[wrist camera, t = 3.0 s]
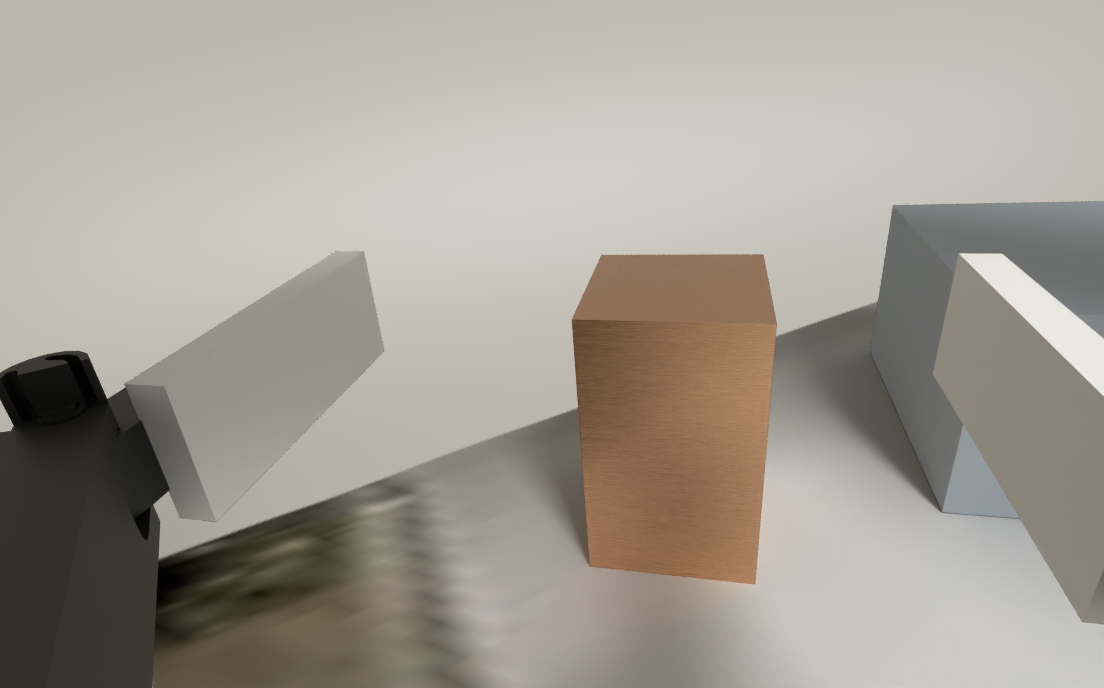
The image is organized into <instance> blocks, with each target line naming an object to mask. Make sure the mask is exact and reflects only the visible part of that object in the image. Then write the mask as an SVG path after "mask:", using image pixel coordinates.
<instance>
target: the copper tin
mask: <svg viewBox="0 0 1104 688" xmlns="http://www.w3.org/2000/svg"><path fill="white" fill-rule="evenodd" d="M776 327H777V322H776V317H775V312H774V307H773V302H772V297H771V292H770V286H769V281H768V276H767V271H766V266H765V260H764V255H601V257H600V259H599V262H598V264H597V266H596V268H595V270H594V273H593V275H592V277H591V279H590V281H589V283H588V286H587V288H586V290H585V292H584V294H583V296H582V299H581V301H580V303H579V305H578V307H577V309H576V312H575V314H574V316H573V318H572V328H573V343H574V356H575V369H576V384H577V397H578V412H579V425H580V439H581V453H582V467H583V481H584V494H585V508H586V522H587V536H588V550H589V563H590V566H592V567H601V568H610V569H619V570H628V571H637V572H647V573H656V574H665V575H674V576H683V577H692V578H702V579H711V580H720V581H729V582H738V583H747V584H755V581H756V569H757V556H758V544H759V532H760V520H761V508H762V496H763V484H764V472H765V460H766V448H767V435H768V423H769V411H770V399H771V387H772V375H773V363H774V351H775V339H776Z"/></svg>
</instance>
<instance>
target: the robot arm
mask: <svg viewBox="0 0 1104 688" xmlns="http://www.w3.org/2000/svg"><path fill="white" fill-rule="evenodd" d="M383 352H384V347H383V342H382V337H381V332H380V327H379V322H378V318H377V313H376V308H375V303H374V298H373V294H372V289H371V284H370V279H369V274H368V269H367V265H366V260H365V255H364V251H336V252H334V253H332V254H331V255H329V256H328V257H326V258H325V259H323V260H322V261H320V262H318V263H317V264H315V265H313V266H312V267H310V268H309V269H307V270H306V271H304V272H302V273H301V274H299V275H297V276H296V277H294V278H293V279H291V280H289V281H288V282H286V283H285V284H283V285H282V286H280V287H278V288H277V289H275V290H273V291H272V292H270V293H269V294H267V295H266V296H264V297H262V298H261V299H259V300H257V301H256V302H254V303H253V304H251V305H249V306H248V307H246V308H245V309H243V310H241V311H240V312H238V313H237V314H235V315H233V316H232V317H230V318H229V319H227V320H226V321H224V322H222V323H221V324H219V325H217V326H216V327H214V328H213V329H211V330H210V331H208V332H206V333H205V334H203V335H202V336H200V337H198V338H197V339H195V340H194V341H192V342H190V343H189V344H187V345H186V346H184V347H182V348H181V349H179V350H178V351H176V352H175V353H173V354H171V355H170V356H168V357H167V358H165V359H163V360H162V361H160V362H158V363H157V364H155V365H154V366H152V367H151V368H149V369H147V370H146V371H144V372H143V373H141V374H139V375H138V376H136V377H134V378H133V379H131V380H130V381H128V382H126V383H125V384H124V385H125V387H126V388H124V389H123V390H121V391H120V392H118V393H116V394H115V395H113V396H112V397H110V398H108V399H107V398H106V395H105V393H104V391H103V388H102V386H101V384H100V381H99V379H98V377H97V375H96V372H95V370H94V368H93V365H92V363H91V361H90V358H89V356H88V354H87V353H84V352H80V351H64V352H58V353H52V354H47V355H43V356H39V357H36V358H32V359H29V360H27V361H24V362H21V363H19V364H17V365H14V366H11V367H10V368H8V369H6V370H4V371H3V372H1V373H0V400H1V402H2V404H3V406H4V408H5V410H6V412H7V413H8V415H9V417H10V419H11V421H12V423H13V425H14V426H13V428H12V431H7V432H0V688H152V676H153V656H154V636H155V616H156V596H157V576H158V556H159V536H160V535H159V534H160V520H159V518H158V515H157V513H156V510H155V508H154V506H153V504H154V503H155V502H156V501H157V500H159V499H160V498H161V497H162V496H163V495H164V494H166V493H167V492H168V491H169V493H170V495H171V498H172V500H173V502H174V505H175V507H176V509H177V512H178V514H179V517H180V518H185V519H193V520H202V521H211V522H217V521H218V520H219V519H220V518H221V517H222V516H223V515H224V514H225V513H226V512H227V511H228V510H229V509H230V508H231V507H232V506H233V505H234V504H235V503H236V502H237V501H238V500H239V499H240V498H241V497H242V496H243V495H244V494H245V493H246V492H247V491H248V490H249V489H250V488H251V487H252V485H254V484H255V482H257V480H258V479H259V478H260V477H261V476H262V475H263V474H264V473H265V472H266V471H267V470H268V469H269V468H270V467H271V466H272V465H273V464H274V463H275V462H276V461H277V460H278V459H279V458H280V457H281V456H282V455H283V454H284V453H285V452H286V451H287V450H288V449H289V448H290V447H291V446H292V445H293V444H294V443H295V442H296V441H297V440H298V439H299V438H300V437H301V436H302V435H303V433H305V432H306V431H307V430H308V429H309V427H310V426H311V425H312V424H313V423H314V422H315V421H316V420H317V419H318V418H319V417H320V416H321V415H322V414H323V413H324V412H325V411H326V410H327V409H328V408H329V407H330V406H331V405H332V404H333V403H334V402H335V401H336V400H337V399H338V398H339V397H340V396H341V395H342V394H343V393H344V392H345V391H346V390H347V389H348V388H349V387H350V386H351V385H352V384H353V383H354V382H355V381H356V380H357V379H358V377H360V376H361V374H362V373H363V372H364V371H365V370H366V369H367V368H368V367H369V366H370V365H371V364H372V363H373V362H374V361H375V360H376V359H377V358H378V357H379V356H380V355H381V354H382V353H383ZM933 375H934V377H935V379H936V380H937V382H938V384H939V385H940V387H941V389H942V390H943V392H944V394H945V395H946V397H947V399H948V400H949V402H950V404H951V405H952V407H953V409H954V410H955V412H956V414H957V415H958V417H959V418H960V420H961V422H962V423H963V425H964V427H965V428H966V430H967V432H968V433H969V435H970V437H971V438H972V440H973V442H974V443H975V445H976V447H977V448H978V450H979V452H980V453H981V455H982V457H983V458H984V460H985V462H986V463H987V465H988V467H989V468H990V470H991V472H992V473H993V475H994V477H995V478H996V480H997V482H998V483H999V485H1000V486H1001V488H1002V490H1003V491H1004V493H1005V495H1006V496H1007V498H1008V500H1009V501H1010V503H1011V505H1012V506H1013V508H1014V510H1015V511H1016V513H1017V515H1018V516H1019V518H1020V520H1021V521H1022V523H1023V525H1024V526H1025V528H1026V530H1027V531H1028V533H1029V535H1030V536H1031V538H1032V540H1033V541H1034V543H1035V545H1036V546H1037V548H1038V550H1039V551H1040V553H1041V554H1042V556H1043V558H1044V559H1045V561H1046V563H1047V564H1048V566H1049V568H1050V569H1051V571H1052V573H1053V574H1054V576H1055V578H1056V579H1057V581H1058V583H1059V584H1060V586H1061V588H1062V589H1063V591H1064V593H1065V594H1066V596H1067V598H1068V599H1069V601H1070V603H1071V604H1072V606H1073V608H1074V609H1075V611H1076V613H1077V614H1078V616H1079V617H1080V619H1081V621H1082V622H1088V623H1097V624H1104V339H1103V338H1102V337H1101V336H1100V335H1099V334H1097V333H1096V332H1095V331H1094V330H1093V329H1091V328H1090V327H1089V326H1088V325H1087V324H1086V323H1084V322H1083V321H1082V320H1081V319H1080V318H1078V317H1077V316H1076V315H1075V314H1074V313H1072V312H1071V311H1070V310H1069V309H1068V308H1066V307H1065V306H1064V305H1063V304H1062V303H1060V302H1059V301H1058V300H1057V299H1056V298H1054V297H1053V296H1052V295H1051V294H1050V293H1048V292H1047V291H1046V290H1045V289H1044V288H1043V287H1041V286H1040V285H1039V284H1038V283H1037V282H1035V281H1034V280H1033V279H1032V278H1031V277H1029V276H1028V275H1027V274H1026V273H1025V272H1023V271H1022V270H1021V269H1020V268H1019V267H1017V266H1016V265H1015V264H1014V263H1013V262H1011V261H1010V260H1009V259H1008V258H1007V257H1005V256H1004V255H1003V254H971V253H959V254H958V259H957V264H956V268H955V273H954V278H953V282H952V287H951V291H950V296H949V301H948V305H947V310H946V315H945V319H944V324H943V329H942V333H941V338H940V342H939V347H938V352H937V356H936V361H935V366H934V370H933Z"/></svg>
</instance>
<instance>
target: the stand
mask: <svg viewBox="0 0 1104 688" xmlns="http://www.w3.org/2000/svg"><path fill="white" fill-rule="evenodd" d="M959 253H971V254H1003V255H1004V256H1005V257H1007V258H1008V259H1009V260H1010V261H1011V262H1013V263H1014V264H1015V265H1016V266H1017V267H1019V268H1020V269H1021V270H1022V271H1023V272H1025V273H1026V274H1027V275H1028V276H1029V277H1031V278H1032V279H1033V280H1034V281H1035V282H1037V283H1038V284H1039V285H1040V286H1041V287H1043V288H1044V289H1045V290H1046V291H1047V292H1048V293H1050V294H1051V295H1052V296H1053V297H1054V298H1056V299H1057V300H1058V301H1059V302H1060V303H1062V304H1063V305H1064V306H1065V307H1066V308H1068V309H1069V310H1070V311H1071V312H1072V313H1074V314H1075V315H1076V316H1077V317H1078V318H1080V319H1081V320H1082V321H1083V322H1084V323H1086V324H1087V325H1088V326H1089V327H1090V328H1091V329H1093V330H1094V331H1095V332H1096V333H1097V334H1099V335H1100V336H1101V337H1102V338H1103V339H1104V201H1088V202H1087V201H1085V202H1039V203H1038V202H1036V203H1035V202H1034V203H987V204H986V203H984V204H936V205H935V204H933V205H893V209H892V216H891V222H890V229H889V235H888V241H887V247H886V254H885V260H884V267H883V273H882V280H881V286H880V292H879V299H878V305H877V311H876V318H875V324H874V330H873V337H872V343H871V350H870V353H871V355H872V357H873V359H874V361H875V364H876V366H877V368H878V370H879V373H880V375H881V377H882V379H883V382H884V384H885V386H886V388H887V390H888V393H889V395H890V397H891V399H892V402H893V404H894V406H895V408H896V411H897V413H898V415H899V417H900V419H901V422H902V424H903V426H904V428H905V431H906V433H907V435H908V437H909V440H910V442H911V444H912V446H913V448H914V451H915V453H916V455H917V457H918V460H919V462H920V464H921V466H922V469H923V471H924V473H925V475H926V477H927V480H928V482H929V484H930V486H931V489H932V491H933V493H934V495H935V498H936V500H937V502H938V504H939V506H940V509H941V511H942V512H945V513H957V514H970V515H983V516H995V517H1008V518H1019V516H1018V515H1017V513H1016V511H1015V510H1014V508H1013V506H1012V505H1011V503H1010V501H1009V500H1008V498H1007V496H1006V495H1005V493H1004V491H1003V490H1002V488H1001V486H1000V485H999V483H998V482H997V480H996V478H995V477H994V475H993V473H992V472H991V470H990V468H989V467H988V465H987V463H986V462H985V460H984V458H983V457H982V455H981V453H980V452H979V450H978V448H977V447H976V445H975V443H974V442H973V440H972V438H971V437H970V435H969V433H968V432H967V430H966V428H965V427H964V425H963V423H962V422H961V420H960V418H959V417H958V415H957V414H956V412H955V410H954V409H953V407H952V405H951V404H950V402H949V400H948V399H947V397H946V395H945V394H944V392H943V390H942V389H941V387H940V385H939V384H938V382H937V380H936V379H935V377H934V375H933V370H934V366H935V361H936V356H937V352H938V347H939V342H940V338H941V333H942V329H943V324H944V319H945V315H946V310H947V305H948V301H949V296H950V291H951V287H952V282H953V278H954V273H955V268H956V264H957V259H958V254H959Z"/></svg>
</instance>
